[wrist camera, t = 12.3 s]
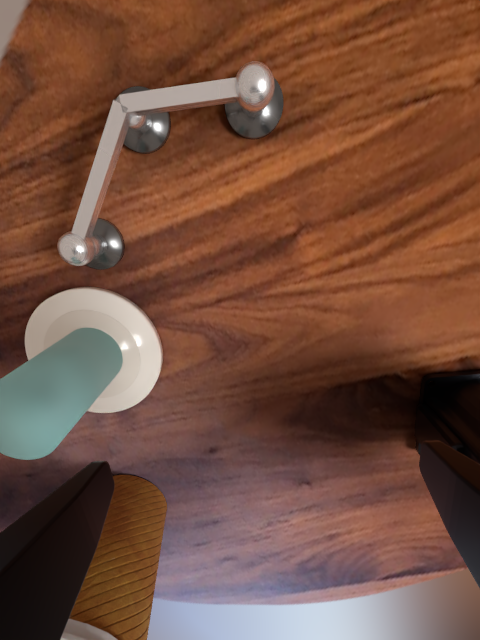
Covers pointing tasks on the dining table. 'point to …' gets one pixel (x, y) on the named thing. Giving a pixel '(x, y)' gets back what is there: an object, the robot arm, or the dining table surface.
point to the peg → (55, 392)
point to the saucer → (118, 322)
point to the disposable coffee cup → (122, 567)
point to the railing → (151, 134)
